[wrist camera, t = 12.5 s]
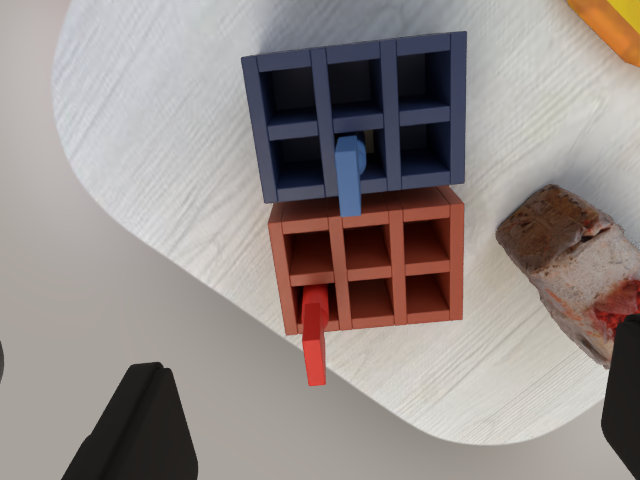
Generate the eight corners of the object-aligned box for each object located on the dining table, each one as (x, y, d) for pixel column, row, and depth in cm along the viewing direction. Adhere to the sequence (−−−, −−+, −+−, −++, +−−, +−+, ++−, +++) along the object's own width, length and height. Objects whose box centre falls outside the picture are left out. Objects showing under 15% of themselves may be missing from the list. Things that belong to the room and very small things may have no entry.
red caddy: (291, 283, 40) (285, 335, 33) (277, 188, 37) (267, 223, 30) (437, 269, 40) (462, 319, 33) (436, 171, 36) (464, 203, 29)
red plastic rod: (307, 278, 39) (301, 387, 27) (303, 243, 38) (294, 341, 26) (328, 276, 39) (332, 384, 27) (325, 241, 38) (327, 338, 26)
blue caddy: (275, 172, 36) (264, 204, 29) (257, 54, 33) (240, 57, 26) (436, 155, 36) (465, 183, 29) (434, 33, 33) (467, 30, 25)
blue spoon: (342, 158, 35) (332, 218, 23) (338, 114, 34) (325, 153, 21) (366, 156, 35) (369, 215, 22) (363, 112, 34) (364, 149, 21)
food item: (648, 277, 40) (744, 345, 31) (571, 333, 42) (639, 413, 33) (554, 172, 36) (632, 215, 27) (475, 240, 39) (523, 300, 30)
